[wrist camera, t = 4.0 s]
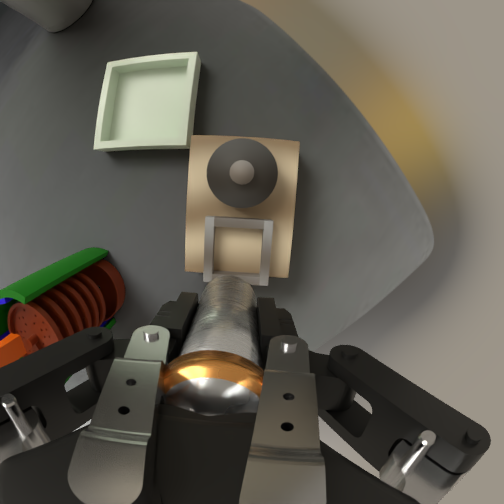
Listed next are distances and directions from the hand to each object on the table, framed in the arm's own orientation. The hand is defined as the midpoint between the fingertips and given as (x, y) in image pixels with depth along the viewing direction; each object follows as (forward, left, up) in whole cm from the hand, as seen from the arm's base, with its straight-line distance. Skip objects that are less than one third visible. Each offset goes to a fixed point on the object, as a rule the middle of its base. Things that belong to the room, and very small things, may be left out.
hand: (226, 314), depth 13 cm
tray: (-15, -11, -18) cm, 26 cm away
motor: (+7, -18, -18) cm, 27 cm away
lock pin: (0, 0, -2) cm, 2 cm away
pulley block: (-4, 0, -18) cm, 19 cm away
